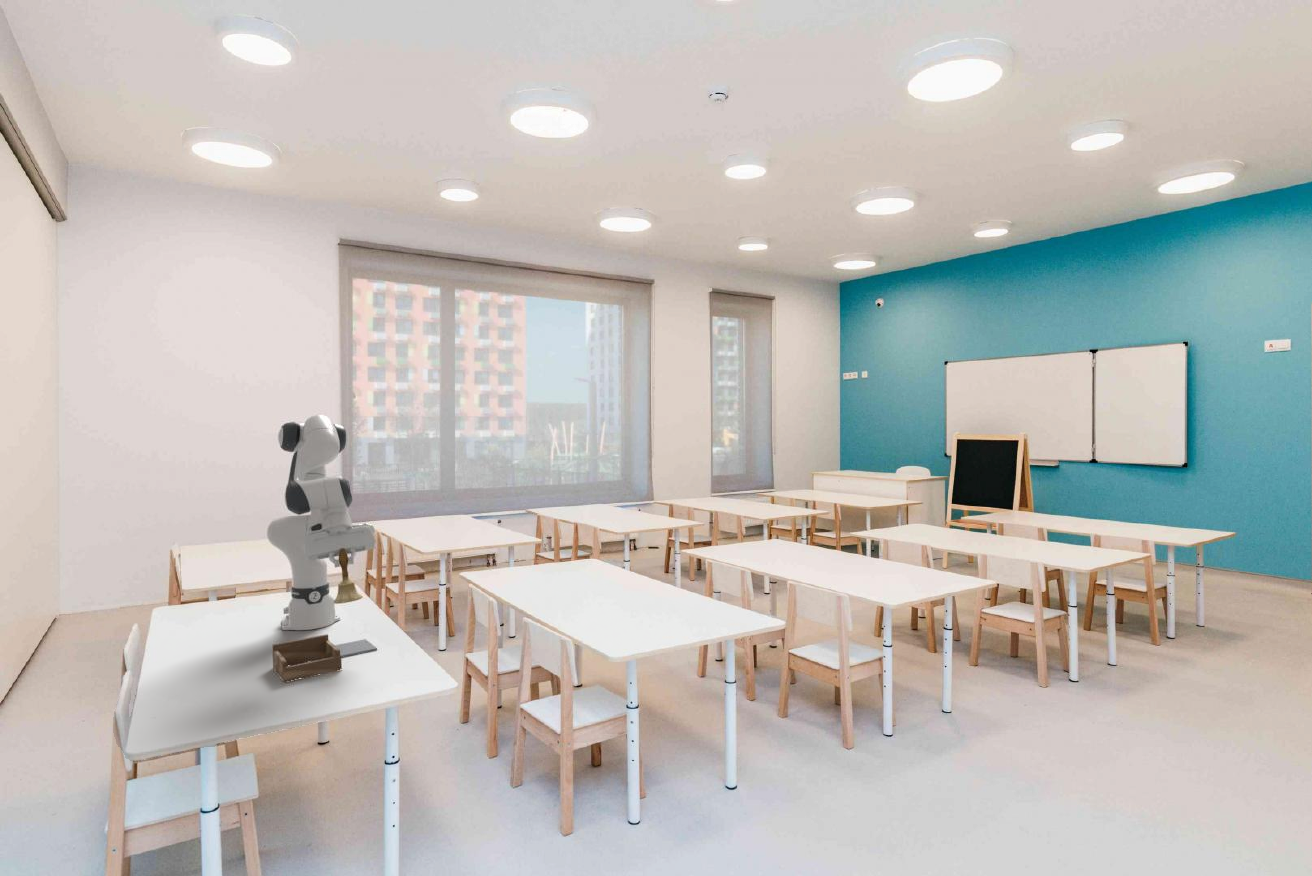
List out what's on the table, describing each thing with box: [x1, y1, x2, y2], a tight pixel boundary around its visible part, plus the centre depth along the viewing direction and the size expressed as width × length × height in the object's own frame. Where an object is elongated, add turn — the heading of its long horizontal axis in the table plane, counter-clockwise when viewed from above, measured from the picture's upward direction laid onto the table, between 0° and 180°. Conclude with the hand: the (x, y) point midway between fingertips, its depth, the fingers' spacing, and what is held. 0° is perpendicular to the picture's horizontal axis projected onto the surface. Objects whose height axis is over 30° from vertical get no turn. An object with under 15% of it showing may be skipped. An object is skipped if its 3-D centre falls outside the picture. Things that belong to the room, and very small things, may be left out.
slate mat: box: [334, 638, 378, 658], centre depth 224 cm, size 12×12×1 cm
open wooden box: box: [272, 633, 342, 683], centre depth 207 cm, size 15×15×7 cm
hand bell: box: [333, 548, 364, 605], centre depth 217 cm, size 8×8×16 cm
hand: (344, 564), depth 216 cm, fingers closed on hand bell, 2 cm apart
